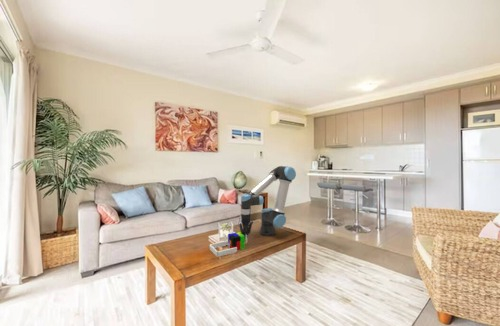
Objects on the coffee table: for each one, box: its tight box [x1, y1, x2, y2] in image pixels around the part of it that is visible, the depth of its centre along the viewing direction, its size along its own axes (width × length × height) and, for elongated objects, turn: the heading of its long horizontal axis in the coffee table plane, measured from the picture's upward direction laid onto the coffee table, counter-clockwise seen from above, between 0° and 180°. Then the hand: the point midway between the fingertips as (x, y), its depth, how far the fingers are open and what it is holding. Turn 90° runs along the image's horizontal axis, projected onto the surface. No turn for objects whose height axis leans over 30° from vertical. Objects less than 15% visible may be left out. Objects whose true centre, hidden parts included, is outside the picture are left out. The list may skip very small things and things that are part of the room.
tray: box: [208, 240, 238, 258], centre depth 166 cm, size 16×16×4 cm
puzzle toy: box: [227, 231, 246, 251], centre depth 172 cm, size 10×10×10 cm
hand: (245, 242), depth 177 cm, fingers closed
